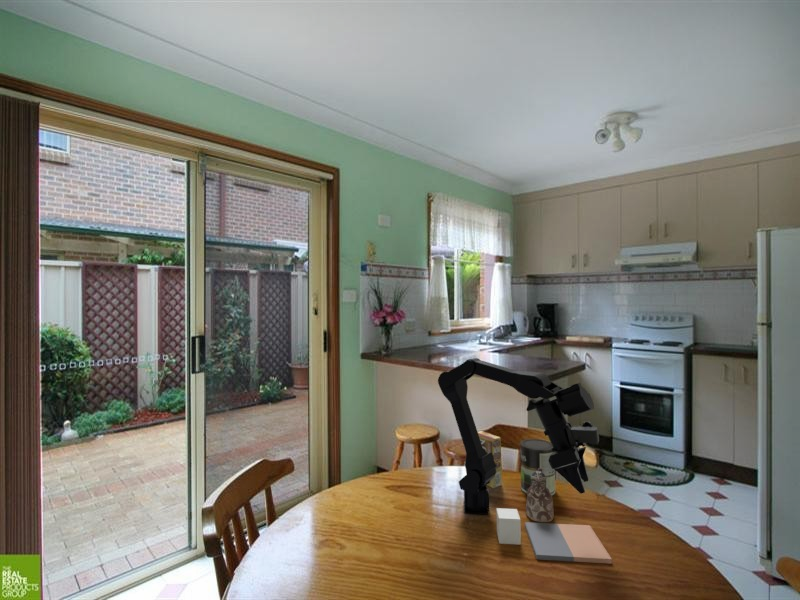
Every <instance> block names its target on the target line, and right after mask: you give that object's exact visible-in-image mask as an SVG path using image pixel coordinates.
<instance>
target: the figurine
mask: <svg viewBox="0 0 800 600" xmlns="http://www.w3.org/2000/svg"><path fill="white" fill-rule="evenodd" d="M546 479H547V478H546V476H545V474H544V473H543V472H542V469H541V468H538V471H535V472H533V474H532V476H531V484H532V486H531V487H530V488H529V489H528V492H527V493H526V503H525V504H526V505H525V514H526V516H527V517H528V518H529V519H530V520H532V521H535V522H536V523H551V522H552V521H553V519H554V515H555V513H554V512H555V510H554V509H555V508H554V501H553V496H552V495H551V493H550V491H549V489H548V488H547V487H546Z"/></svg>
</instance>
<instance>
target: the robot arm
mask: <svg viewBox="0 0 800 600" xmlns="http://www.w3.org/2000/svg"><path fill="white" fill-rule="evenodd" d="M475 375H476V376H477V377H482V378H484V379H488V380H491V381H495V382H498V383H501V384H504V385H507V386H509V387H511V388H513V389H514V390H516V391H517V392H518V393H520V394H521V395H524V396H525V397H527V398H529V399H530V400H528V405H527V407H526V411H527V412H530V411H533V410H535V412H536V414H537V416H538V418H539V421H540V423H541V426H543V429H544V430H543V434H544V435H545V437H546V436H547V437H548V440H549V442H551V444H552V446H553V447H552V448H551V449H552V451H553V452H552V454H551V455H550V457H549V460H548V461H549V463H550V466H551V468H552V469H554V470H555V472H557V473H558V474H559V475H560V476H561V477H563V479H565V480H566V481H567V483H569V484H570V485H571V486H572V487H573V488H574V489H575V490H576V491H577V492H578V493H579V494H585V493H586V490H585V486H584V484H583V482H584V483H586V482H589V476H588V472H587V466H586V464H585V459H584V454H585V452H586V450H587V449H586V448H587V444H590V445H598V444H599V442H600V436H599V428H598V427H597V426H594V425H593V424H592V422H591V421H583V423H582V425H581V426H580V425H578V426H573V425H572V423H571V421H569V420H567V419H566V416H565V415H567V416H568V417H570V418H571V417H575V416H577V415H581V414H583V413H587V412H590V411H594V409H595V404H594V401H593V398H592V396H591V394H590V393H589V392H588V391H587V389H586V388H584V386H582V384H581V382H576V383H574V384H572V385H570V386H567V387H566V388H563V387H562V386H560V385H559V384H557V383H555V382H553V381H552V380H551V379H550V377H549V376H548V375H547V374H545V373H544V372H537V371H525V370H524V371H523V370H522V371H521V370H515V369H512V368H509V367H504V366H501V365H497V364H496V363H490V362H488V361H486V360H485V361H484V360H481V359H480V358H478V357H474V358H469V359H467V360H465V361H464V362H463V363H461V364H459V365H458V366H455V367H454V368H451V369H450V370H445V371H443V372H441V373H440V374H439V376H438V378H437V383H438V385H439V388H440V390H441V393H442V395H443V396H444V397H445V398H446V400H448V402H449V403H450V405H451V409H452V411H453V414H454V418H455V422H456V425H457V427H458V431H459V435H460V437H461V441H462V444H463V447H464V451H465V463H464V466H465V473H466V475H464V476H463V477H462V478H461V479H460V480H459V481H458V485H459V489H460V490H461V491H463V513H464V514H474V515H488V514H489V509H490V492H489V490H488V488H487V486H488V485H487V484H489V483H490V480H491V479H493V478H494V476H495V474H496V467H497V465H496V464H495V462H494V458H493V454H492V452H490V453H487V452H486V451H485V450H484V449H483V447H482V444H481V441H480V438H479V435H478V432H479V431H478V430H477V426H476V422H475V420H474V417H473V414H472V411H471V407H470V405H469V404H470V403H469V401H468V397H467V396H468V382H467V381H468V380H470V379H472V377H474V376H475ZM554 397H555V398H554ZM538 398H540V399H538ZM551 398H553V399H551ZM537 399H538V400H537Z"/></svg>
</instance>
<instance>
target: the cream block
mask: <svg viewBox="0 0 800 600" xmlns="http://www.w3.org/2000/svg"><path fill="white" fill-rule="evenodd" d="M521 530H522V529H521V517H520V514H519V511H518V508H504V507H503V508H502V507H501V508H500V507H496V535H497V539H498V543H499V544H502V545H517V546H518V545H521V544H522V540H521V539H522V537H521V532H522V531H521Z"/></svg>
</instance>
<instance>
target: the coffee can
mask: <svg viewBox="0 0 800 600" xmlns="http://www.w3.org/2000/svg"><path fill="white" fill-rule="evenodd" d="M519 447H520V489H521V491H522V492H523V493H525V494H527V492H528V489H529V488H530V487H531V486H532V484H531V476H532V474H533V472H535V471H538V468H541V469H542V472H543V473H544V474H545V476H546V478H547V479H546V487H547V488H548V489H549V491H550V493H551V495H552V497H553V496H554V495H555V494H556V471H555V470H554V469H552V468H551V466H550V463H549V461H548V460H549V457H550V455H551V454H552V452H553V451H552V449H551V448H552V447H553V446H552V444H551V442H550V440H549V441H548V440H545V439H542V438H541V439H540V438H526V439H523V440H521V441H520V442H519Z"/></svg>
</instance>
